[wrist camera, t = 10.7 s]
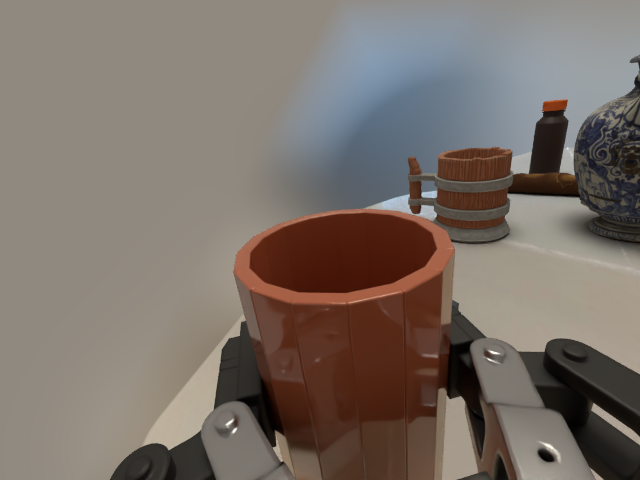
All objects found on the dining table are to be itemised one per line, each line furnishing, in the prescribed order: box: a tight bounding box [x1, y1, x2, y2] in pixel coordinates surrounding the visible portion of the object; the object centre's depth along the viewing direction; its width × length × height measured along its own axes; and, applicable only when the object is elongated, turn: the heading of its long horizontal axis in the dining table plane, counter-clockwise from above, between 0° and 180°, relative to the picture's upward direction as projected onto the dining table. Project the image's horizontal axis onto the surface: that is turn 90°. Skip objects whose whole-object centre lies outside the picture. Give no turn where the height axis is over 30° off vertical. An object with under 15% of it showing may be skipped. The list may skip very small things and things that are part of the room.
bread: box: [508, 173, 580, 195], centre depth 74 cm, size 38×5×5 cm, turn 53°
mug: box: [408, 147, 514, 243], centre depth 60 cm, size 14×19×15 cm
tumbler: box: [234, 209, 455, 480], centre depth 10 cm, size 6×6×11 cm
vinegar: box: [529, 100, 568, 174], centre depth 82 cm, size 7×7×20 cm
